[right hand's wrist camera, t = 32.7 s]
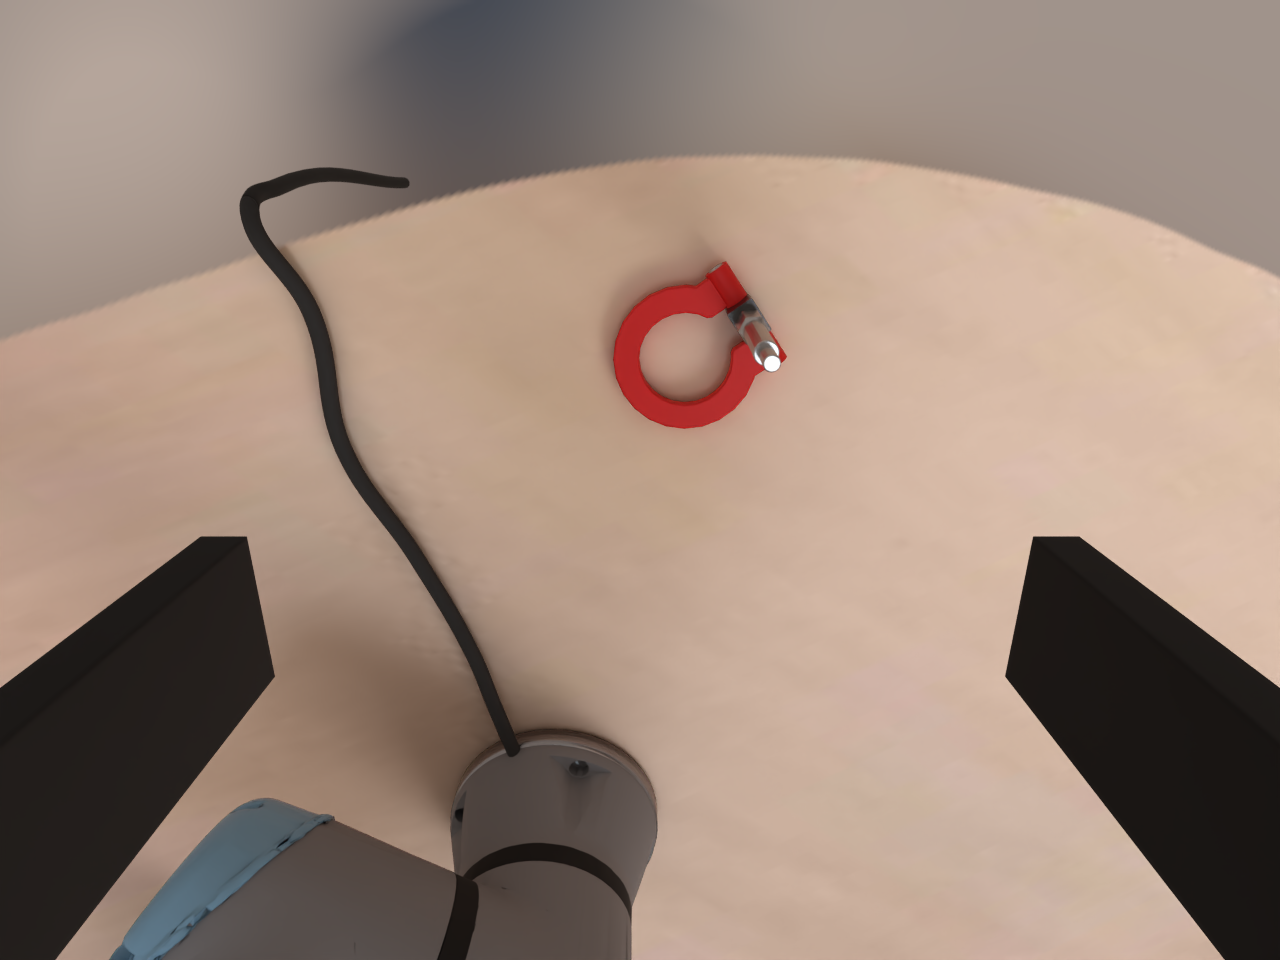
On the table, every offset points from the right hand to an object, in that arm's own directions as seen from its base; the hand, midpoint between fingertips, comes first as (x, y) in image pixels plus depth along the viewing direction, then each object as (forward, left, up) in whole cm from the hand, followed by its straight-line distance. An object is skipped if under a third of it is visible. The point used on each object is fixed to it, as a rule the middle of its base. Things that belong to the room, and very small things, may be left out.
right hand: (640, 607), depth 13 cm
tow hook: (+3, +2, -33) cm, 33 cm away
